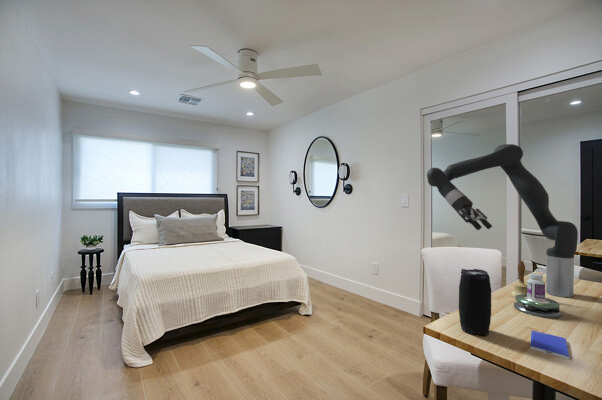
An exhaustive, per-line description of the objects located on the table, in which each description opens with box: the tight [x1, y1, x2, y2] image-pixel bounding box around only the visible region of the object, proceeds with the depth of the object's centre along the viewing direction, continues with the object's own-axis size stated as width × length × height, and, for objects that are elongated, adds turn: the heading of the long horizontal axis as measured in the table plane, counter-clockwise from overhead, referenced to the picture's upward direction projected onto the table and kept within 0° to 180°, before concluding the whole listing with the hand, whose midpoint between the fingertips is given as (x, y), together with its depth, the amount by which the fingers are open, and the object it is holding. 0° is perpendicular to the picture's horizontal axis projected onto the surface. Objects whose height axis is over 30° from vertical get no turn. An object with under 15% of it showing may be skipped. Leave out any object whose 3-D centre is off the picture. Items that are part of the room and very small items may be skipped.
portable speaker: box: [458, 268, 492, 337], centre depth 91 cm, size 9×9×20 cm
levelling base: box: [513, 294, 562, 319], centre depth 108 cm, size 14×14×4 cm
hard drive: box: [529, 330, 570, 360], centre depth 82 cm, size 2×8×12 cm
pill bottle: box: [526, 273, 546, 302], centre depth 108 cm, size 5×5×10 cm
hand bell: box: [509, 260, 527, 299], centre depth 123 cm, size 8×8×16 cm
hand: (485, 228), depth 118 cm, fingers open, 8 cm apart
